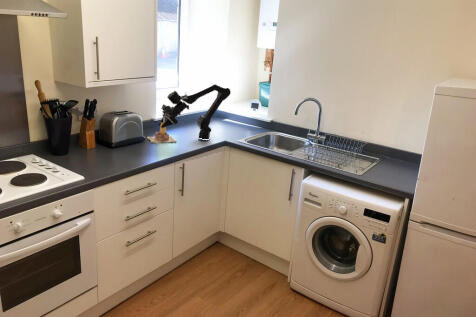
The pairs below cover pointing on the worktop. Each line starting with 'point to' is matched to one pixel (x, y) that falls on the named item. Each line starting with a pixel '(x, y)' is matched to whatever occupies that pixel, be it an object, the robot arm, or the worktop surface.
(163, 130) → the orange tapered piece
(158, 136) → the beige board with box
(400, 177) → the worktop surface
